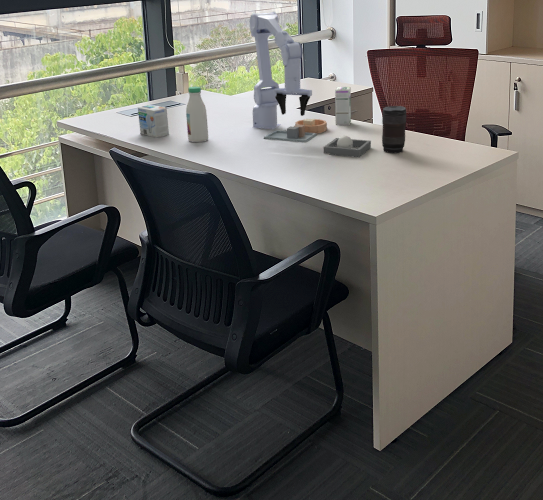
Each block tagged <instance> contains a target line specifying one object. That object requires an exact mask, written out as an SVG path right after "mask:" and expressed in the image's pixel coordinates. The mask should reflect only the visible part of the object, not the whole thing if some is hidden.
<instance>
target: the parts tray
mask: <svg viewBox="0 0 543 500" xmlns="http://www.w3.org/2000/svg"><path fill="white" fill-rule="evenodd" d="M316 136H317V133H307V132H305V136H304V137H299V138H298V139H292V138H287V130H283V129H281V130H279V129H275V130H273V131H272V132H269V133H268V134H266V135H264V136H263V139H264V140H274V141H275V140H276V141H286V142H297V143H298V142H301V143H306V142H308V141H310V140H312V138H315V137H316Z"/></svg>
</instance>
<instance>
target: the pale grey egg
mask: <svg viewBox="0 0 543 500" xmlns="http://www.w3.org/2000/svg"><path fill="white" fill-rule="evenodd" d="M338 138H339V139H338V141H337V146H336V147H340V148H351V149H353V147H352V146H353V141H352V139H353V138H351V137H350V136H349V135H342V136H340V137H338Z"/></svg>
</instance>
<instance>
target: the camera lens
mask: <svg viewBox="0 0 543 500" xmlns="http://www.w3.org/2000/svg"><path fill="white" fill-rule="evenodd" d="M381 115H382V119H381V124H382V133H381V134H382V135H381V141H382V142H381V144H382V149H383V152H385V153H388V154H399V153H403V151H404V147H405V144H406V124H407V108H406V107H405V106H402V105H390V106H385V107H383V108H382V114H381Z"/></svg>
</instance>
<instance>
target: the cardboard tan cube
mask: <svg viewBox="0 0 543 500" xmlns="http://www.w3.org/2000/svg"><path fill="white" fill-rule="evenodd" d="M293 127H299V137H304V136H305V125H293Z"/></svg>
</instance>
